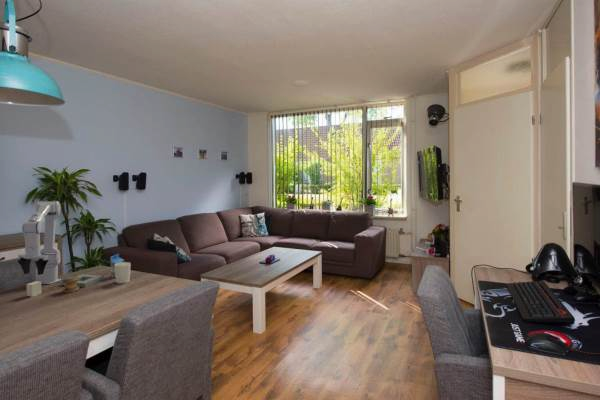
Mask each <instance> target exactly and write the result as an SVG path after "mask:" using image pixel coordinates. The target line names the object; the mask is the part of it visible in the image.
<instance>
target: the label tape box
mask: <svg viewBox="0 0 600 400" xmlns="http://www.w3.org/2000/svg"><path fill="white" fill-rule="evenodd" d="M122 262H126V261H125V259H123V258H121V257H120V253H116V254H114V255H112V256H110V275H111V278H115V279H116V277H115V264H117V263H122Z"/></svg>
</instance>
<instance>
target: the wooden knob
mask: <svg viewBox="0 0 600 400" xmlns="http://www.w3.org/2000/svg"><path fill="white" fill-rule="evenodd" d="M62 281H63V283H65V286H64V288H63V289H62V292H63V293H65V294H69V293H75V292H76V293H77V292H78V291H79V290H80V287H78V286H77V281H79V277H76V276H70V277H65V278H63V279H62V280H61V282H62Z"/></svg>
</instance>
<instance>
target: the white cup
mask: <svg viewBox="0 0 600 400" xmlns="http://www.w3.org/2000/svg"><path fill="white" fill-rule="evenodd" d="M130 276H131V262H129V261H127V262H126V261H125V262H122V263H117V264H115V277H116V278H115V283H117V284H126V283H129V282H130V280H131V279H130V278H131V277H130Z"/></svg>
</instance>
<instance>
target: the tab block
mask: <svg viewBox="0 0 600 400" xmlns="http://www.w3.org/2000/svg"><path fill="white" fill-rule="evenodd" d="M41 293H42V284H41V282H39V281H36V280H35V281H33V282H29V283H27V284H26V297H27V296H30V297H29V298H34V297H36V296H39V295H42V294H41ZM38 294H39V295H38ZM33 296H34V297H33Z"/></svg>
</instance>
